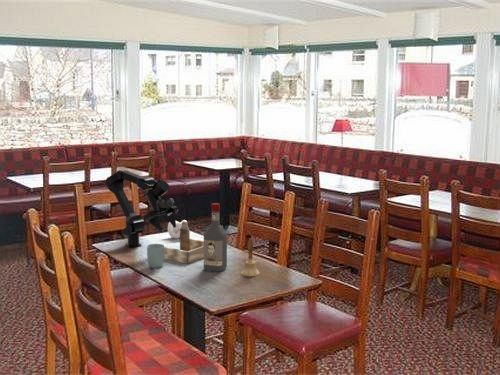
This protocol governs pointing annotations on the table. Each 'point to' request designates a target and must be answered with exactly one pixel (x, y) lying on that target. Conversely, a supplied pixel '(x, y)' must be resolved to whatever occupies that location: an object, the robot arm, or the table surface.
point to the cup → (155, 255)
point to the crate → (186, 252)
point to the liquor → (215, 243)
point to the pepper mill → (184, 237)
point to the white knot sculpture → (175, 230)
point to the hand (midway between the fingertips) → (168, 229)
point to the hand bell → (250, 262)
